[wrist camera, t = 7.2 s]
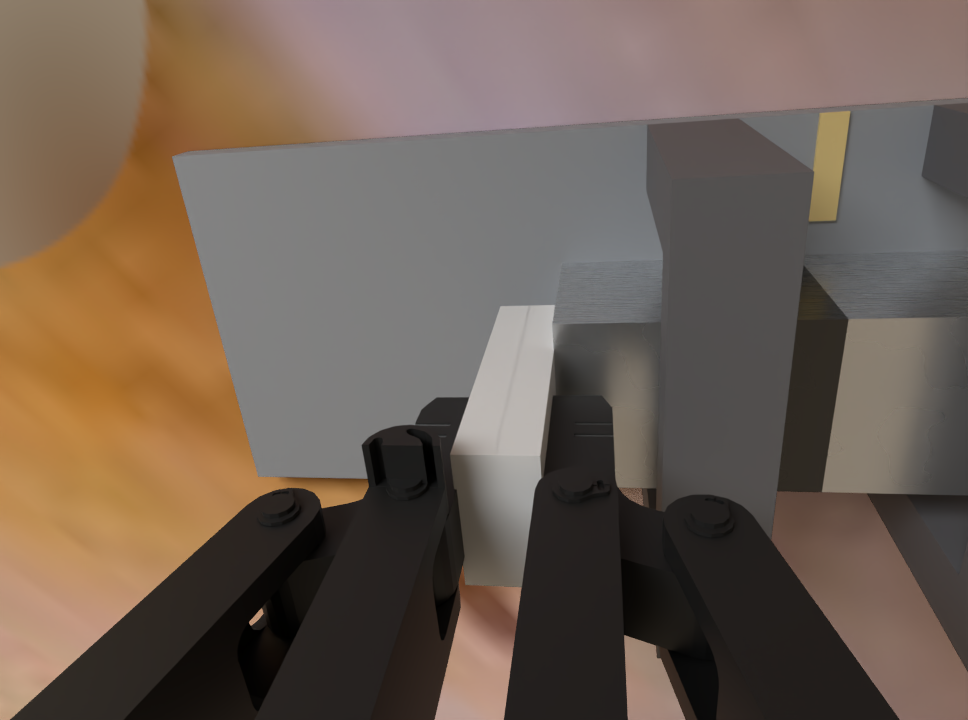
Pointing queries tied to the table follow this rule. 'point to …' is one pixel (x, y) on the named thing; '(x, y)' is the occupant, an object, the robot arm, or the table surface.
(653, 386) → the grey block
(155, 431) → the table surface
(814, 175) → the grey angular piece
